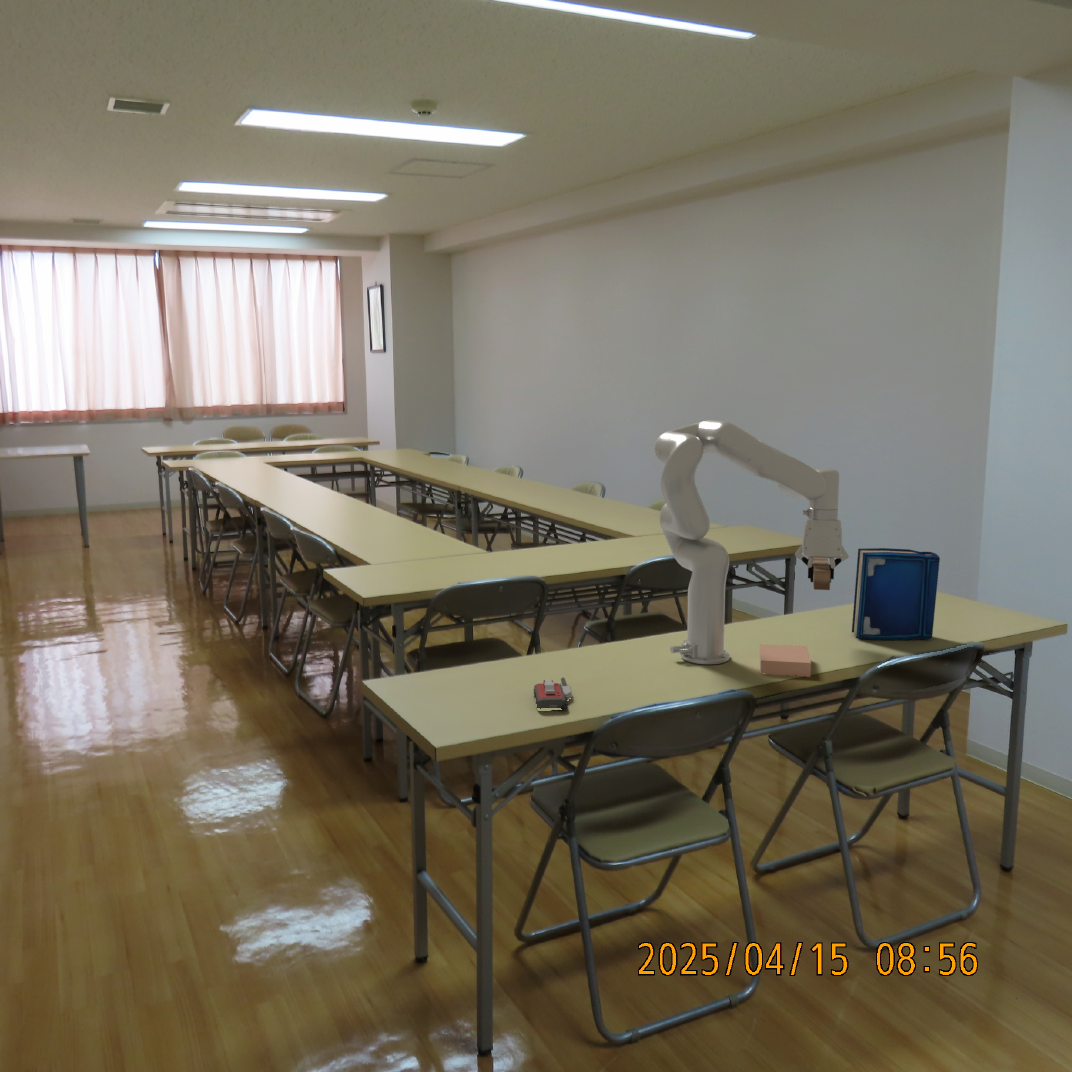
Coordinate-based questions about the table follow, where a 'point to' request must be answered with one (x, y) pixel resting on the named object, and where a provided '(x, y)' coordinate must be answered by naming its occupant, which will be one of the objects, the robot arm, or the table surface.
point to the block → (821, 574)
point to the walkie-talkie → (552, 694)
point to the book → (895, 594)
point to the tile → (785, 660)
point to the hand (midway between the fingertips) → (820, 580)
